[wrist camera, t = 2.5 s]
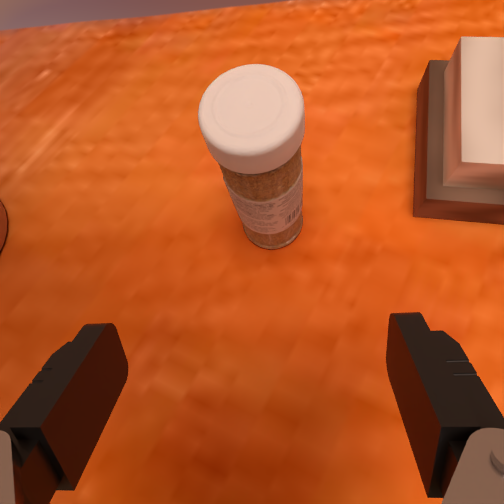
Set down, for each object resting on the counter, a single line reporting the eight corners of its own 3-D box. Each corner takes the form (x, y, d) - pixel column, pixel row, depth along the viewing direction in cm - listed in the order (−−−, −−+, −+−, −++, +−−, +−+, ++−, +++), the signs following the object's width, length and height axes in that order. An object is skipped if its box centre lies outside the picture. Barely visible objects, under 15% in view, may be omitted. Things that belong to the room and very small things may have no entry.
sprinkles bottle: (271, 184, 29) (248, 41, 17) (316, 220, 28) (328, 96, 15) (230, 225, 29) (173, 110, 16) (273, 264, 27) (249, 173, 15)
